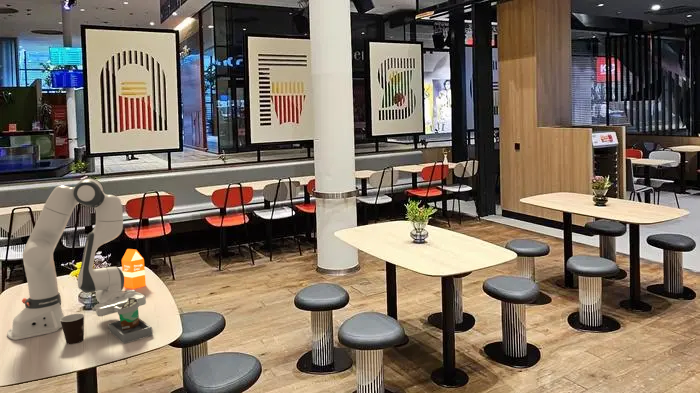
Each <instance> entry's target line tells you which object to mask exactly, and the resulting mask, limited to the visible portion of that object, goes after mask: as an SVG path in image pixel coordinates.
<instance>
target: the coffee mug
mask: <svg viewBox="0 0 700 393" xmlns="http://www.w3.org/2000/svg"><path fill="white" fill-rule="evenodd" d="M60 321H61V325H62V327H61V328H62V332H63V335H64V339H65V343H66V344H67V345H77V344H79V343H82V342H83V341H84V340H85V339H84V338H85V333H84V332H85V328H84V327H85V315H84V314H83V313H72V314H67V315H65V316H64V317H62V318H61V319H60Z"/></svg>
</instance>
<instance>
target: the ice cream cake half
mask: <svg viewBox="0 0 700 393" xmlns="http://www.w3.org/2000/svg"><path fill="white" fill-rule="evenodd" d="M139 307H140V306H139V302H138V300H137V299H136V298H132V297H128V301H127V302H126V303H125V304H124V305H123V306H122V308H121V309H118V312H117V315H118V316H119V317H118V318H119V321H120V322H121V326H122V330H129V329H132V328H134V327H136V326H138V325H139V319H140V317H139Z"/></svg>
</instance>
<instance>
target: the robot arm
mask: <svg viewBox="0 0 700 393" xmlns="http://www.w3.org/2000/svg"><path fill="white" fill-rule="evenodd" d="M78 204H80V205H83V206H86V207H90V208H94V211H95V225H94V228H93V229H92V231H91V232H89V233H88V235H87V237H86V239H85V243H84V249H83V253H82V259H81V264H80V265H81V266H80V269H79V273H78V276H77V288H78V289H79V290H80V291H82V292H84V293H86V294H89V293H93V292H95V298H96V300H97V302H98V303H97V304H95V305H94V307H91V311H93V312H95V314H96V316H97V317H105V316H108V315H112V314H115V313H118V309H121V308H122V306H123V305H124V304H125V303H126V302H127V301H128V297H132V298H136V299H137V300H138V302H139V307H141V306H144V305H146V304H147V300H146V296H145V295H144V294H143V293H141V292H137V291H136V290H135V289H128V290H123V289H124V288H125V287H124V274H123V272H122V270H121V268H119V267H118V266H107V267H99V268H94V264H95V263H94V261H95V257H96V252H97V250H98V248H100V247H101V246H103V245H104V244H106V243H108V242H111V241H113V240H116V238H118V237H119V236H120V235H121V234H122V233H123V227H124V215H123V205H122V201H121V199H120V197H118V196H116V195H114V194H106V193H105V188H104V186H103V184H102V183H101V182H100V181H99V180H97V179H95V178H86V179H82V180H81V181H79V182H78V183H77V184H76V185H75V186H73V187H71V186H67V185H57V186H56V187H54V189H53V190H52V191H51V193H50V195H49V196H48V198H47V199H46V201H45V203H44V206H43V208H42V210H41V212H40V214H39V216H38V218H37V220H36V223H35V225H34V227H33V229H32V231H31V234H30V236H29V237H28V239H27V242H26V244H25V247H24V249H23V252H22V261H23V266H24V272H25V277H26V281H27V287H28V288H27V289H28V296H29V297H28V298H26V297H23V298H22V299H21V302H22V303H23V304H24V305H25V307H24V308H23V310H21V311H20V312H18V313H17V315H16V316H15V317H13V320H12V327H11V328H9V329H8V330H7V331H6V335H7V337H8V339H10V340H13V341H15V340H16V341H19V340H22V339H28V338H32V337H38V336H42V335H47V334H53V333H56V332H57V331H58V330H59V329H61V328H62V325H61V321H60V319H61V318H62V317H64V313H63V312H64V311H63V310H62V298H61V293H60V292H59V286H58V285H59V284H58V279H57V278H58V277H57V272H56V266H55V261H54V252H55V249H56V248H57V245H58V243H59V241H60V239H61V237H62V235H63V234H64V232H65V229H66V227H67V225H68V222H69V220H70V218H71V217H72V213H73V212H74V209H75V208H76V206H77V205H78Z"/></svg>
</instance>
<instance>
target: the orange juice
mask: <svg viewBox="0 0 700 393" xmlns="http://www.w3.org/2000/svg"><path fill="white" fill-rule="evenodd" d="M121 268H122V270H121V271H122V272H123V274H124V287H123V288H125V289H130V290H135V289H139V288H143V287H146V286H147V283H146V271H145V270H146V269H145V259H144V257H143V256H142V255H141V254H140V252H139V251H138V250H137V249H133V248H127V249H126V250H125V253H124V255H123V256H122V258H121Z"/></svg>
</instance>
